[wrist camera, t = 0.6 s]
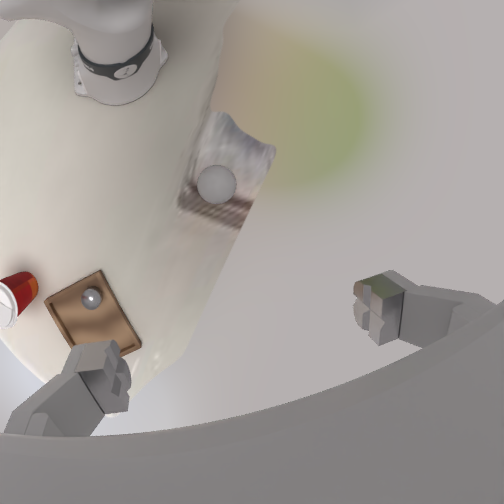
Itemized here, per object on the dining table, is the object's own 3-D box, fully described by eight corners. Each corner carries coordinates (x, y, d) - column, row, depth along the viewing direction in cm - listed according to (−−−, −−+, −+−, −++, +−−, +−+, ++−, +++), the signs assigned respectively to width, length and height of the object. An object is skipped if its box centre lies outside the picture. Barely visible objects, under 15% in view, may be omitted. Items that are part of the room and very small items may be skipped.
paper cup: (4, 282, 43) (-30, 303, 30) (25, 257, 44) (-8, 272, 31) (28, 313, 45) (0, 341, 32) (50, 289, 46) (23, 313, 33)
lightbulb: (223, 171, 54) (240, 162, 44) (224, 204, 55) (241, 203, 45) (190, 171, 52) (199, 162, 42) (191, 205, 53) (200, 204, 43)
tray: (46, 298, 46) (43, 301, 44) (100, 269, 49) (98, 271, 47) (88, 367, 50) (87, 372, 48) (141, 342, 53) (141, 347, 51)
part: (81, 290, 48) (77, 295, 45) (96, 282, 49) (93, 286, 46) (90, 307, 49) (87, 313, 46) (106, 300, 50) (103, 305, 47)
